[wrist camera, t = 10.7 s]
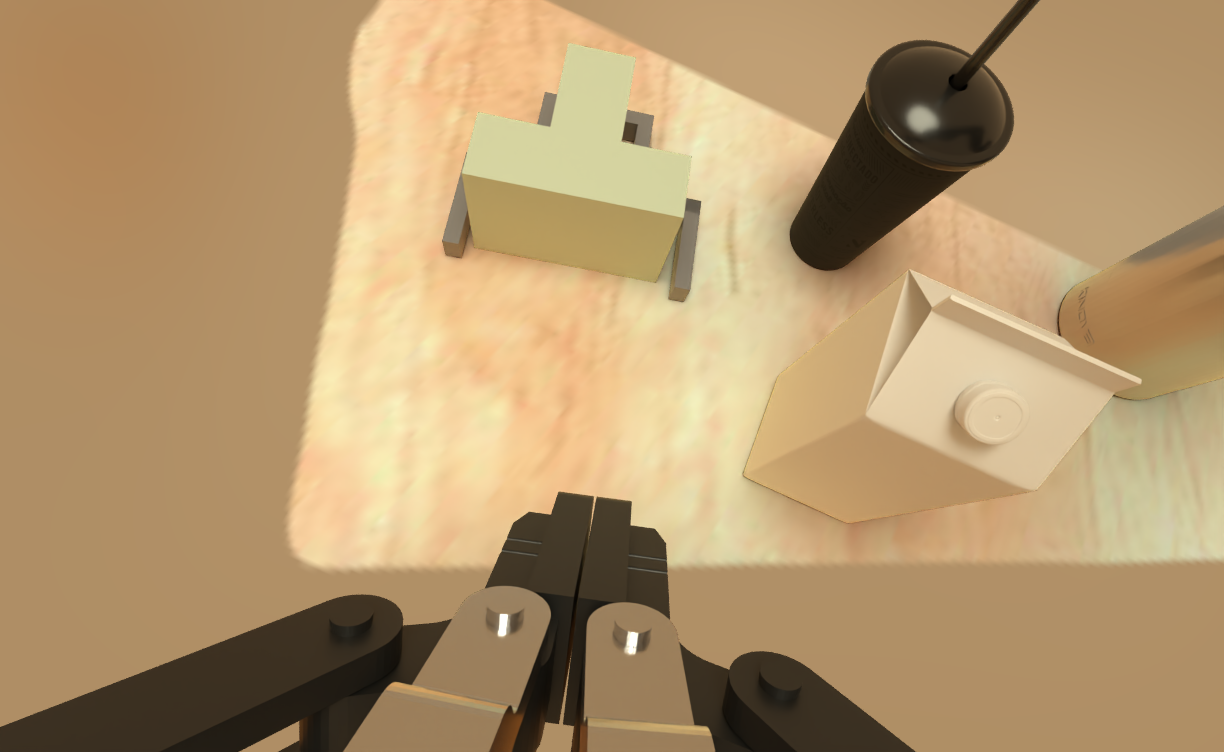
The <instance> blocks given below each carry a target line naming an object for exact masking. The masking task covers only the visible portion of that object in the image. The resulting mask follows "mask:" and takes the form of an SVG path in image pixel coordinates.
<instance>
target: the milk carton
mask: <svg viewBox="0 0 1224 752" xmlns="http://www.w3.org/2000/svg"><path fill="white" fill-rule="evenodd" d="M1141 382H1142V379H1140V378H1138V377H1136V376H1133V375H1131V374H1129V373H1127V372H1124V371H1122V370H1120V369H1118V368H1116V367H1113V366H1111V365H1109V364H1107V363H1104V362H1102V361H1100V360H1098V359H1095V358H1093V357H1091V356H1089V355H1087V354H1084V353H1082V352H1080V351H1078V350H1076V349H1075V348H1074V347H1073V346H1072V345H1071V344H1070V343H1069V342H1068V341H1067V340H1065V339H1064V338H1063V337H1061V336H1058V335H1056V334H1054V333H1052V332H1050V331H1047V330H1045V329H1043V328H1041V327H1039V326H1036V325H1034V324H1032V323H1030V322H1027V321H1025V320H1023V319H1021V318H1018V317H1016V316H1014V315H1012V314H1009V313H1007V312H1005V311H1003V310H1001V309H998V308H996V307H994V306H992V305H989V304H987V303H985V302H983V301H980V300H978V299H976V298H974V297H971V296H969V295H967V294H965V293H963V292H960V291H958V290H956V289H954V288H951V287H949V286H947V285H945V284H942V283H940V282H938V281H936V280H933V279H931V278H929V277H927V276H925V275H922V274H920V273H918V272H915V271H913V270H911V269H908V271H906V272H905V273H904V274H903V275H901V276H900V277H899V278H898V279H897V280H895V281H894V282H893V283H892V284H890V285H889V286H888V287H887V288H886V289H884V290H883V291H882V292H881V293H879V294H878V295H877V296H876V297H874V298H873V299H872V300H871V301H870V302H868V303H867V304H866V305H865V306H863V307H862V308H861V309H860V310H858V311H857V312H856V313H855V314H854V315H852V316H851V317H850V318H849V319H847V320H846V321H845V322H844V323H842V324H841V325H840V326H839V327H838V328H836V329H835V330H834V331H833V332H831V333H830V334H829V335H828V336H826V337H825V338H824V339H823V340H822V341H820V342H819V343H818V344H817V345H815V346H814V347H813V348H812V349H810V350H809V351H808V352H807V353H806V354H804V355H803V356H802V357H801V358H799V359H798V360H797V361H796V362H794V363H793V364H792V365H791V366H790V367H788V368H787V369H786V370H785V371H783V372H782V373H781V374H780V375H779V376H778V378H777V381H776V383H775V386H774V389H773V392H772V395H771V397H770V400H769V403H768V406H767V409H766V411H765V414H764V417H763V420H762V422H761V425H760V428H759V431H758V434H757V436H756V439H755V442H754V445H753V448H752V450H751V453H750V456H749V459H748V462H747V464H746V467H745V470H744V473H743V475H744V476H745V477H746V478H748V479H750V480H752V481H755V482H757V483H759V484H761V485H763V486H766V487H768V488H770V489H772V490H774V491H777V492H779V493H781V494H783V495H785V496H788V497H790V498H792V499H794V500H796V501H799V502H801V503H803V504H805V505H807V506H810V507H812V508H814V509H816V510H818V511H821V512H823V513H825V514H827V515H829V516H832V517H834V518H836V519H838V520H841V521H843V522H846V523H854V522H860V521H866V520H872V519H878V518H884V517H890V516H895V515H901V514H907V513H913V512H919V511H925V510H930V509H936V508H942V507H948V506H954V505H960V504H966V503H971V502H977V501H983V500H989V499H995V498H1001V497H1006V496H1012V495H1017V494H1022V493H1027V492H1032V491H1036V490H1037V489H1038V488H1039V487H1040V486H1041V485H1042V483H1043V482H1044V481H1045V480H1046V478H1047V477H1048V476H1049V475H1050V473H1051V472H1052V471H1053V470H1054V468H1055V467H1056V466H1057V465H1058V463H1059V462H1060V461H1061V460H1062V458H1063V457H1064V456H1065V455H1066V453H1067V452H1068V451H1069V450H1070V448H1071V447H1072V446H1073V445H1074V444H1075V442H1076V441H1077V440H1078V439H1079V437H1080V436H1081V435H1082V434H1083V432H1084V431H1085V430H1086V429H1087V427H1088V426H1089V425H1090V424H1091V422H1092V421H1093V420H1094V419H1095V417H1096V416H1097V415H1098V414H1099V412H1100V411H1101V410H1102V409H1103V407H1104V406H1105V405H1106V404H1107V402H1108V401H1109V400H1110V399H1111V397H1112V396H1113V395H1114V394H1115V393H1116V392H1119V391H1122V390H1125V389H1129V388H1132V387H1135V386H1138V385H1141Z"/></svg>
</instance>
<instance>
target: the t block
mask: <svg viewBox="0 0 1224 752" xmlns="http://www.w3.org/2000/svg"><path fill="white" fill-rule="evenodd" d="M635 61H636V57H631V56H626V55H622V54H617V53H613V52H608V51H603V50H599V49H594V48H590V47H585V46H581V45H576V44H571V43H568V48H567V52H566V57H565V62H564V66H563V71H562V76H561V80H560V85H559V89H558V94H557V99H556V103H555V108H554V112H553V117H552V122H551V126H550V127H548V126H543V125H538V124H533V123H528V122H524V121H519V120H514V119H509V118H504V117H500V116H495V115H490V114H485V113H480V112H478V113H477V117H476V121H475V125H474V129H473V132H472V136H471V140H470V144H469V148H468V151H467V155H466V159H465V163H464V167H463V170H462V178H463V184H464V190H465V196H466V202H467V208H468V213H469V219H470V225H471V231H472V237H473V243H474V248H478V249H483V250H488V251H493V252H499V253H504V254H509V255H514V256H519V257H525V258H530V259H535V260H540V261H545V262H551V263H556V264H561V265H566V266H571V267H577V268H582V269H587V270H592V271H597V272H603V273H608V274H613V275H618V276H623V277H629V278H634V279H639V280H644V281H650V282H655V283H656V281H657V279H658V276H659V274H660V272H661V269H662V267H663V265H664V262H665V260H666V258H667V255H668V253H669V251H670V248H671V246H672V244H673V242H674V239H675V237H676V235H677V232H678V230H679V228H680V225H681V223H682V221H683V218H684V212H685V204H686V196H687V188H688V181H689V173H690V165H691V157H692V156H687V155H682V154H677V153H673V152H668V151H663V150H658V149H653V148H649V147H644V146H639V145H634V144H629V143H625V142H622V136H623V130H624V125H625V119H626V113H627V107H628V101H629V96H630V90H631V84H632V78H633V72H634V67H635Z"/></svg>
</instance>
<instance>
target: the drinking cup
mask: <svg viewBox="0 0 1224 752" xmlns="http://www.w3.org/2000/svg"><path fill="white" fill-rule="evenodd" d="M1039 1H1040V0H1018V1H1017V2H1016V4H1015V5H1014V6H1013V7H1012V8H1011V10H1010V11H1009V12H1008V13H1007V14H1006V15H1005V17H1004V18H1003V19H1002V20H1001V21H1000V23H999V24H998V25H997V26H996V27H995V28H994V30H993V31H992V32H991V33H990V34H989V36H988V37H987V38H986V39H985V41H984V42H983V43H982V44H981V45H980V46H979V48H978V49H977V50H976V51H975V52H974V53H973V55H971V54H969V53H967V52H965V51H964V50H962V49H959V48H957V47H955V46H952V45H949V44H945V43H942V42H937V41H930V40H914V41H908V42H904V43H901V44H898V45H896V46H894V47H892V48H890V49H889V50H887V51H886V52H885V53H883V54H882V55H881V56H880V57H879V58H878V60H877V61H876V62H875V64H874V65H873V67H872V69H871V71H870V72H869V75H868V78H867V82H866V90H865V92H864V94H863V95H862V97H861V99H860V101H859V103H858V105H857V107H856V108H855V110H854V112H853V114H852V116H851V117H850V119H849V121H848V123H847V125H846V126H845V128H844V130H843V132H842V134H841V136H840V138H839V139H838V141H837V143H836V145H835V147H834V148H833V150H832V152H831V154H830V156H829V158H828V159H827V161H826V163H825V165H824V167H823V168H822V170H821V172H820V174H819V176H818V178H817V179H816V181H815V183H814V185H813V187H812V189H811V190H810V192H809V194H808V196H807V198H806V199H805V201H804V203H803V205H802V207H801V209H800V210H799V212H798V214H797V216H796V218H795V220H794V221H793V223H792V226H791V230H790V239H791V243H792V246H793V248H794V250H795V252H796V253H797V255H798V256H799V257H800V258H801V259H802V260H803V261H804V262H806V263H807V264H809V265H811V266H813V267H815V268H818V269H822V270H835V269H839V268H842V267H844V266H845V265H847V264H848V263H849V262H851V261H852V260H853V259H855V258H856V257H857V256H858V255H860V254H861V253H862V252H864V251H865V250H866V249H868V248H869V247H870V246H872V245H873V244H874V243H876V242H877V241H878V240H880V239H881V238H882V237H883V236H885V235H886V234H887V233H889V232H890V231H891V230H893V229H894V228H895V227H897V226H898V225H899V224H901V223H902V222H903V221H904V220H906V219H907V218H908V217H910V216H911V215H912V214H914V213H915V212H916V211H918V210H919V209H920V208H922V207H923V206H924V205H925V204H927V203H928V202H929V201H931V200H932V199H933V198H935V197H936V196H937V195H939V194H940V193H941V192H943V191H944V190H945V189H946V188H948V187H949V186H950V185H952V184H953V183H954V182H956V181H957V180H958V179H959V178H961V177H962V176H964V175H965V174H966V173H968V172H969V171H970V170H972V169H975V168H978V167H981V166H983V165H985V164H987V163H988V162H990V161H992V160H993V159H994V158H995V157H997V156H998V155H999V154H1000V153H1001V152H1002V151H1003V150H1004V148H1005V147H1006V145H1007V144H1008V142H1009V140H1010V137H1011V135H1012V131H1013V126H1014V114H1013V108H1012V104H1011V101H1010V98H1009V96H1008V93H1007V92H1006V90H1005V88H1004V86H1003V85H1002V83H1001V82H1000V80H999V79H998V78H997V77H996V75H995V74H994V73H993V72H992V71H991V70H990V69H989V68H988V67H987V66H986V65H984V63H985V62H986V61H987V60H988V59H989V58H990V56H991V55H992V54H993V53H994V52H995V51H996V50H997V48H998V47H999V46H1000V45H1001V44H1002V43H1003V42H1004V41H1005V39H1006V38H1007V37H1008V36H1009V35H1010V34H1011V33H1012V32H1013V30H1014V29H1015V28H1016V27H1017V26H1018V25H1019V24H1020V22H1021V21H1022V20H1023V19H1024V18H1025V17H1026V16H1027V15H1028V13H1029V12H1030V11H1031V10H1032V9H1033V8H1034V6H1035V5H1036V4H1037V3H1038V2H1039Z"/></svg>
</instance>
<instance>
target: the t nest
mask: <svg viewBox="0 0 1224 752" xmlns="http://www.w3.org/2000/svg"><path fill="white" fill-rule="evenodd" d="M556 99H557V94H552V93H547V92H545V95H544V99H543V103H542V107H541V112H540V116H539V120H538V125H543V126H548V127H550V126H551V122H552V117H553V112H554V108H555V103H556ZM653 120H654V116H653V115H648V114H644V113H639V112H635V111H630V110H627V113H626V119H625V125H624V130H623V136H622V139H624V140H628V141H633V142H634V143H633V144H634V145H639V146H644V147H649V144H650V138H651V132H652V126H653ZM466 155H467V152H466ZM465 159H466V156H465ZM464 163H465V160H464ZM464 163H463V167H464ZM463 167H462V170H463ZM700 207H701V201H698V200H693V199H688V198H686V204H685V212H684V218H683V221H682V223H681V225H680V228H679V230H678V234H677V241H676V248H675V256H674V263H673V270H672V277H671V285H670V292H669V299H671V300H676V301H681V302H684V300H685V298H686V296H687V294H688V293H689V291H690V286H691V278H692V270H693V262H694V254H695V246H696V238H697V231H698V223H699V215H700ZM469 227H470V219H469V213H468V208H467V202H466V196H465V190H464V184H463V178H462V171H461V174H460V178H459V181H458V185H457V189H456V192H455V196H454V200H453V203H452V207H451V211H450V214H449V218H448V221H447V225H446V229H445V232H444V236H443V240H442V242H443V246H444V250H445V254H446V255H448V256H453V257H458V258H462V254H463V250H464V246H465V243H466V239H467V235H468V231H469Z"/></svg>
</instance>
